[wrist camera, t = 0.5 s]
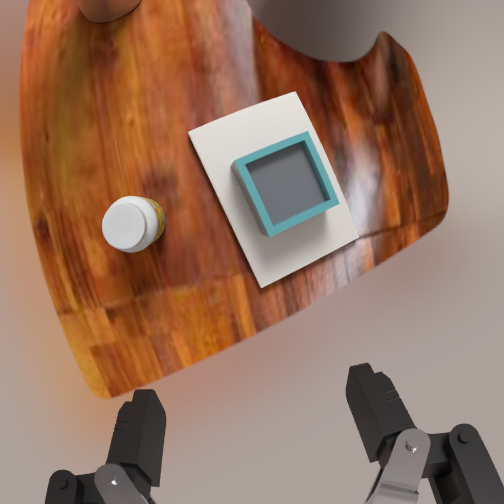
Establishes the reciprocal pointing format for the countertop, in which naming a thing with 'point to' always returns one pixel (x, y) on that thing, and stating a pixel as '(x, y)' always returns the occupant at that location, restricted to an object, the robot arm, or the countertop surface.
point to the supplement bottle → (133, 223)
